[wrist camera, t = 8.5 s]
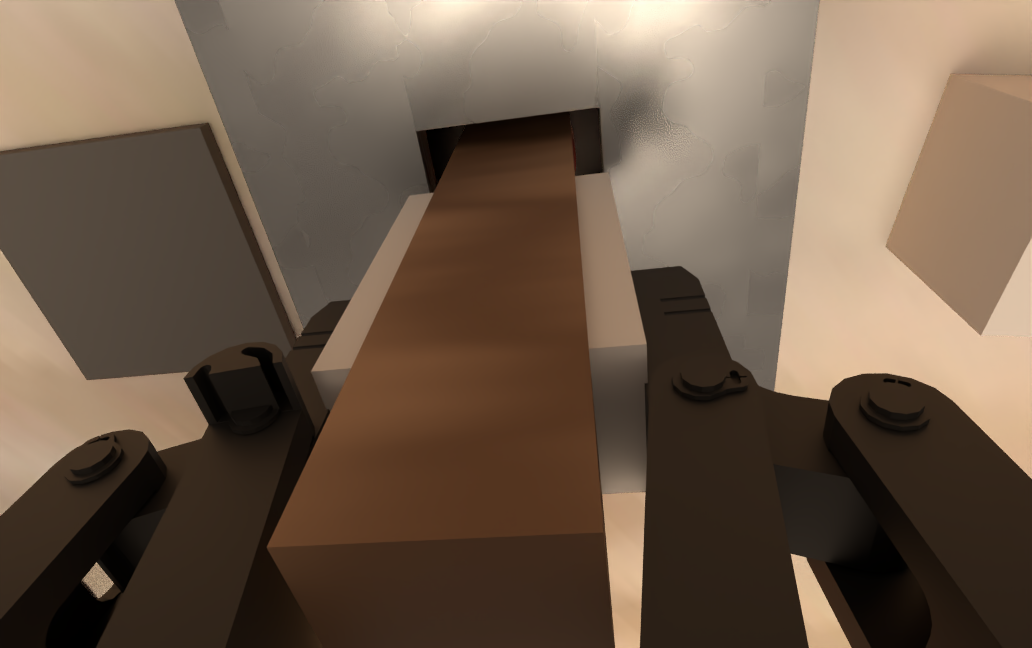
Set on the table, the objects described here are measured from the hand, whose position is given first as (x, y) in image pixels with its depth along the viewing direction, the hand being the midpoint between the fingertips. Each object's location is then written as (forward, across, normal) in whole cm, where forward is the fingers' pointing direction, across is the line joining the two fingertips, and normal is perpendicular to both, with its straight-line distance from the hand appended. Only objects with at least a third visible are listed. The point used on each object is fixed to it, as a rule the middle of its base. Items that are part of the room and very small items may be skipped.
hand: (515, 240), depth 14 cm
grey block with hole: (+8, 0, 0) cm, 8 cm away
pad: (+8, -16, -3) cm, 18 cm away
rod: (+6, 0, 0) cm, 6 cm away
